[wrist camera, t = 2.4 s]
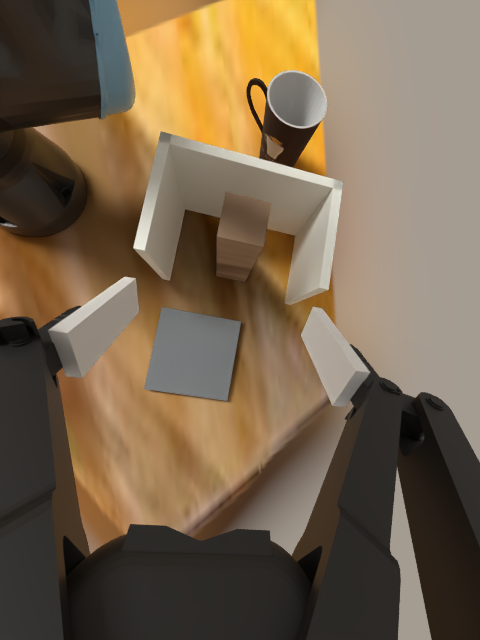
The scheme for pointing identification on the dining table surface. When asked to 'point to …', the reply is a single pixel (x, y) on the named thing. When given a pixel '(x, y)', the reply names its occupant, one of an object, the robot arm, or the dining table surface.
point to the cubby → (246, 180)
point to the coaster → (193, 354)
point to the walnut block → (240, 235)
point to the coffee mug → (288, 115)
